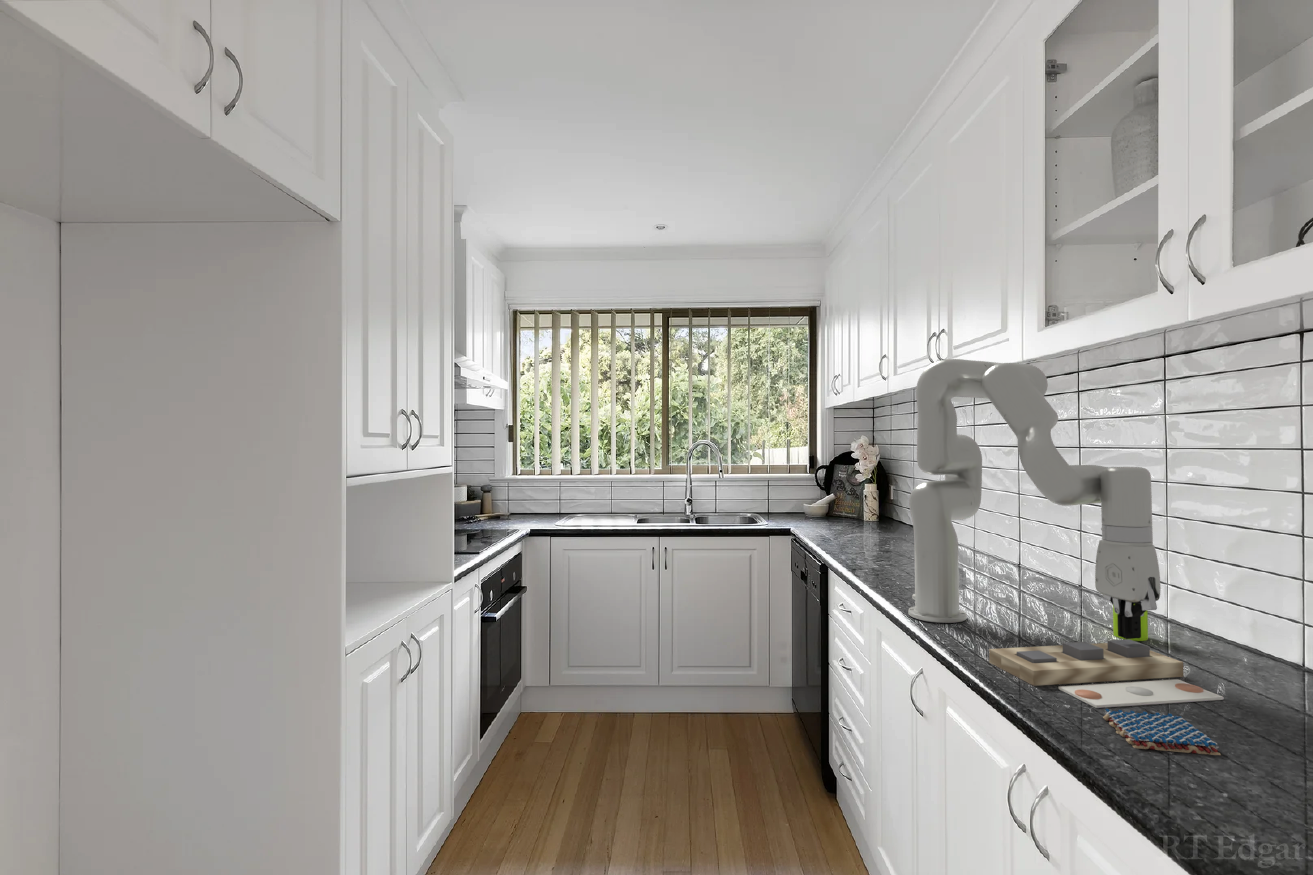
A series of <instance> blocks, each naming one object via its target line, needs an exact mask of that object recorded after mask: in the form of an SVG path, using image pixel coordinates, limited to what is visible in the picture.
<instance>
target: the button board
mask: <svg viewBox="0 0 1313 875" xmlns="http://www.w3.org/2000/svg"><path fill="white" fill-rule="evenodd" d="M1091 644H1092V645H1095V646H1097V647H1100V648H1102V649H1103V650H1104V659H1100V660H1082V661H1080V660H1078V659H1076V658H1073V657H1071V656H1069V655H1066V654H1064V653H1063V645H1060V644H1059V645H1044V646H1039V645H1037V646H1024V647H1023V646H1022V647H1019V646H1018V647H1004V648H1001V647H1000V648H989V650H988V652H989V653H988V657H989V660H988V662H989V664H991V665H993V666H994V667H997V668H998V669H1000V670H1003V671H1004V672H1006V673H1008V674H1010V675H1013V676H1014V677H1016V678H1018V679H1020V680H1022V681H1024V682H1025V683H1027V684H1029V685H1030V686H1034V687H1035V686H1037V687H1038V686H1052V685H1068V684H1069V685H1071V684H1082V683H1083V684H1086V683H1100V682H1101V683H1103V682H1117V681H1118V682H1119V681H1121V682H1122V681H1132V680H1134V681H1135V680H1136V681H1137V680H1150V679H1151V680H1152V679H1153V680H1154V679H1166V678H1167V679H1168V678H1182V677H1184V661H1182V660H1178V659H1176V658H1172V657H1169V656H1167V655H1164V654H1162V653H1158V652H1156V651H1153V650H1151V649H1150V657H1135V658H1126V657H1123V656H1121V655H1118V654H1116V653H1113V652H1110V651H1108V642H1100V643H1099V642H1098V643H1091ZM1038 650H1039V651H1042V652H1044V653H1046V654H1048V655H1051V656H1053V657H1055V658H1057V662H1046V663H1031V662H1029V661H1027V660H1025V659H1023V658H1021V657H1019V656H1017V652H1019V651H1038Z"/></svg>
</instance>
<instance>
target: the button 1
mask: <svg viewBox="0 0 1313 875" xmlns="http://www.w3.org/2000/svg"><path fill="white" fill-rule="evenodd" d="M1017 656H1019V657H1021V658H1023V659H1025V660H1027V661H1029V662H1031V663H1046V662H1057V658H1055V657H1053V656H1051V655H1048V654H1046V653H1044V652H1042V651H1039V650H1038V651H1019V652H1017Z"/></svg>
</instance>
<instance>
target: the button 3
mask: <svg viewBox="0 0 1313 875" xmlns="http://www.w3.org/2000/svg"><path fill="white" fill-rule="evenodd" d="M1107 643H1108V651H1110V652H1113V653H1116V654H1118V655H1121V656H1123V657H1126V658H1135V657H1150V650H1151V649H1150V648H1151V647H1150V645H1147V644H1145V643H1140V642H1139V641H1133V640H1130V639H1126V640H1125V639H1109V640H1107Z"/></svg>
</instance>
